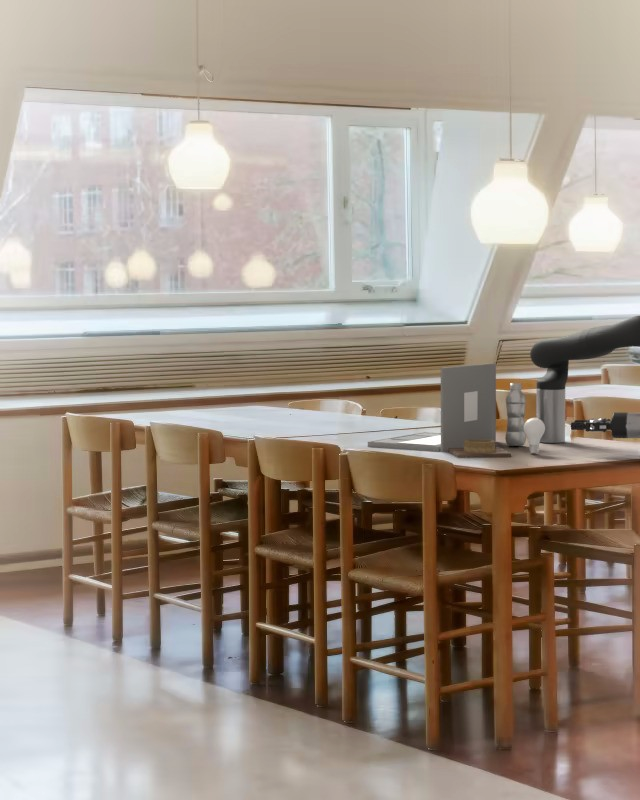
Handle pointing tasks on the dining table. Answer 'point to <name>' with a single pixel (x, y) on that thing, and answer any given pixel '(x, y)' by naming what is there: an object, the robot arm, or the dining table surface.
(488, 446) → the brown board with block
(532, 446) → the lightbulb
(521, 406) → the plastic bottle
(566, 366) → the robot arm
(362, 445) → the dining table surface
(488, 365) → the laptop
